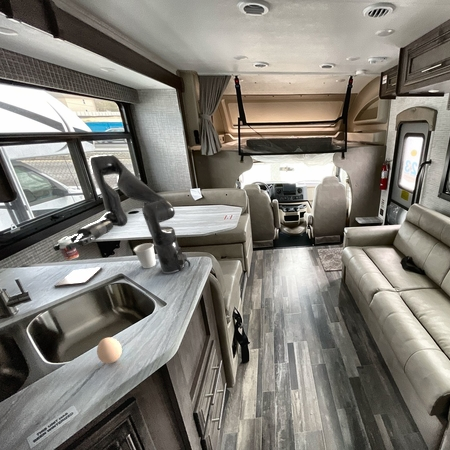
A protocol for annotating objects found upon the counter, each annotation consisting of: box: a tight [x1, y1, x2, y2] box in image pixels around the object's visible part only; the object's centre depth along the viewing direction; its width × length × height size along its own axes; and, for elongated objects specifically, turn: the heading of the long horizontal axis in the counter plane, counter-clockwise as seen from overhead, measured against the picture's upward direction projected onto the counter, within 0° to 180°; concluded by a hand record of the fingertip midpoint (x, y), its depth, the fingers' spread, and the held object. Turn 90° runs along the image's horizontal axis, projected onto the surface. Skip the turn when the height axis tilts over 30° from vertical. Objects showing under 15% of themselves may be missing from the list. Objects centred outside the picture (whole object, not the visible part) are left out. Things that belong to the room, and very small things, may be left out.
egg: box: [96, 337, 123, 364], centre depth 68 cm, size 5×5×8 cm
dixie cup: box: [133, 242, 157, 269], centre depth 117 cm, size 8×8×10 cm
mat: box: [53, 267, 103, 288], centre depth 110 cm, size 12×12×1 cm
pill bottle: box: [57, 239, 80, 261], centre depth 105 cm, size 5×5×8 cm
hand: (61, 248), depth 102 cm, fingers closed on pill bottle, 4 cm apart
